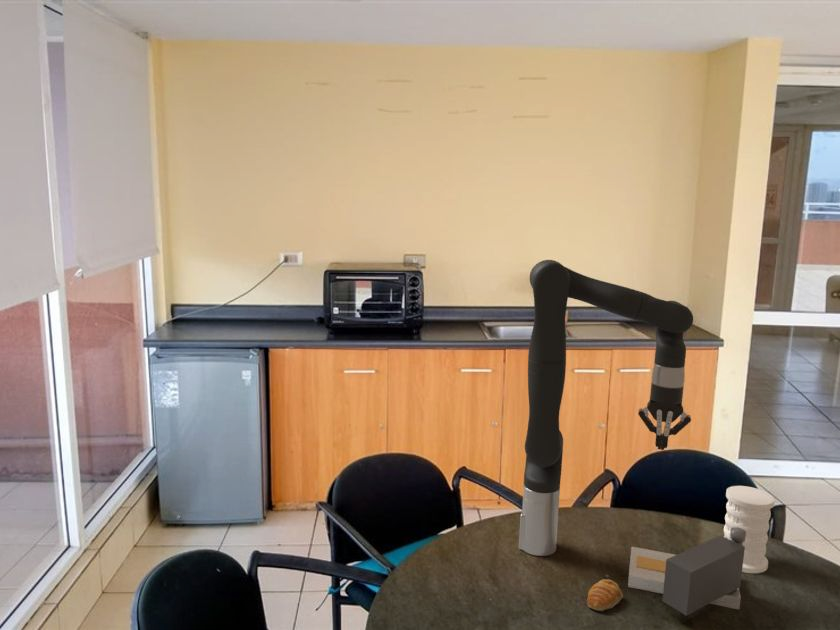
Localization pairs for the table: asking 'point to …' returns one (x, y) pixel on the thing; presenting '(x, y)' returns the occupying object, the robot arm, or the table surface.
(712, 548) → the grey block with knob
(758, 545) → the decorative container
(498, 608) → the table surface
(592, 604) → the pastry
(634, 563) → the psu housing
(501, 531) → the table surface
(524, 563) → the table surface
